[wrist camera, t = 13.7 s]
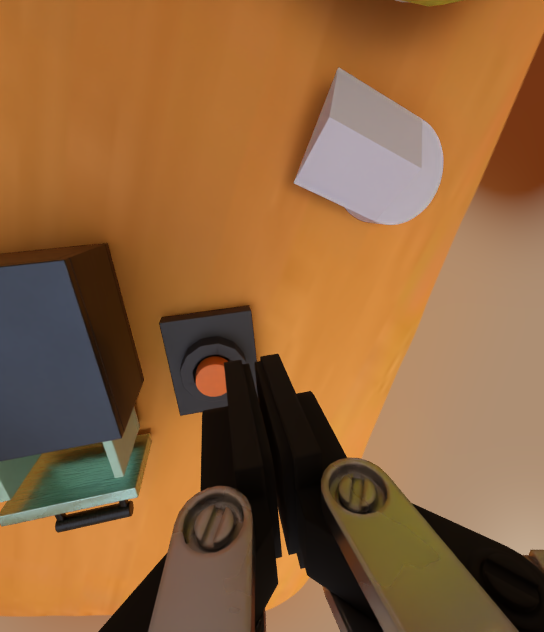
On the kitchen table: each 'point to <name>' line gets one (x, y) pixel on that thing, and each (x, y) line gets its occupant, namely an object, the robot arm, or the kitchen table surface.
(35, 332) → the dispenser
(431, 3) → the toy
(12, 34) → the kitchen table surface
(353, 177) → the wedge on round base
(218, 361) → the button
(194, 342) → the control block
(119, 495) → the tray
